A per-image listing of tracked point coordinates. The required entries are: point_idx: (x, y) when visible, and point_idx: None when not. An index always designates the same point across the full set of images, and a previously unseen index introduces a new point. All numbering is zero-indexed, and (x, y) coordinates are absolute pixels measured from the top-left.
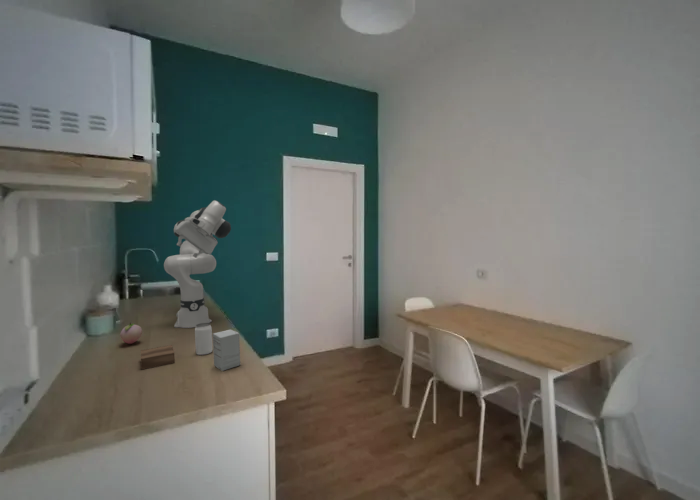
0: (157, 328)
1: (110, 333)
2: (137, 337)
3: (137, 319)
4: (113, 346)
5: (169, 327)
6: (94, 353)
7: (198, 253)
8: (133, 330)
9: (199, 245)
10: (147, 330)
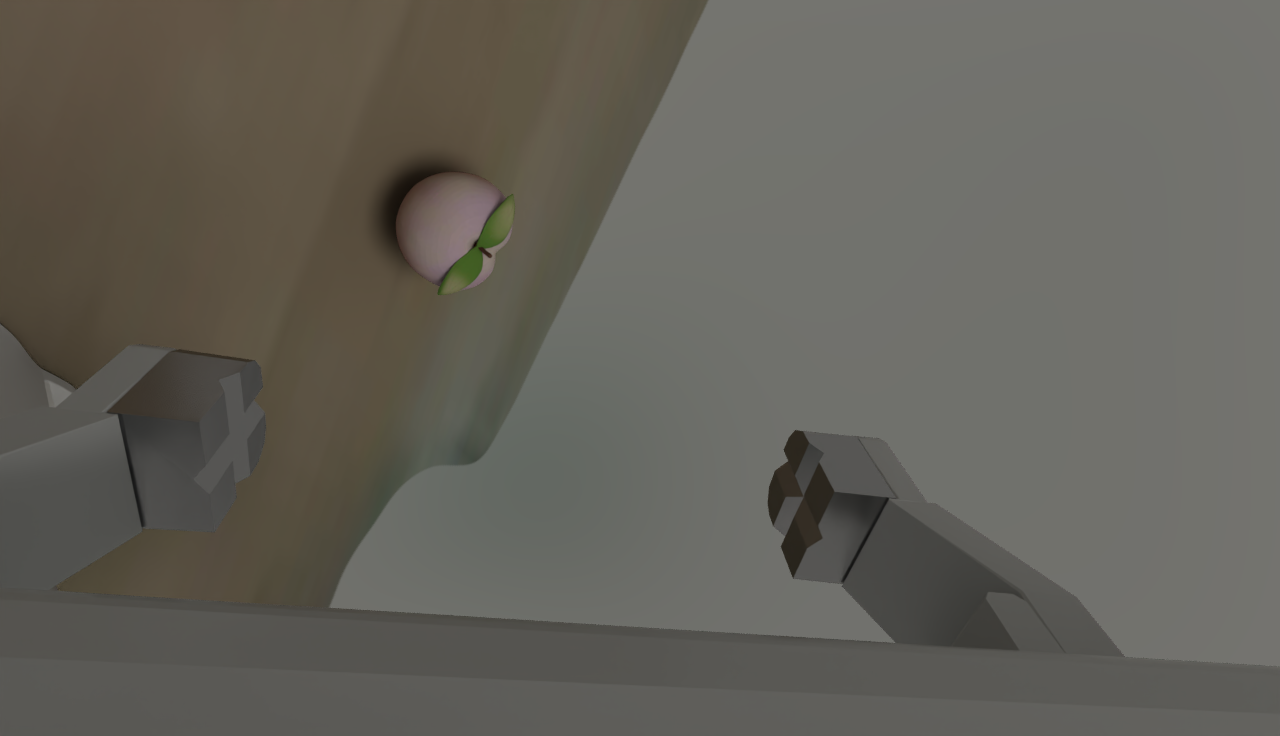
0: None
1: (415, 467)
2: (432, 175)
3: None
4: None
5: None
6: (558, 195)
7: (71, 459)
8: (475, 191)
9: (135, 666)
10: None
